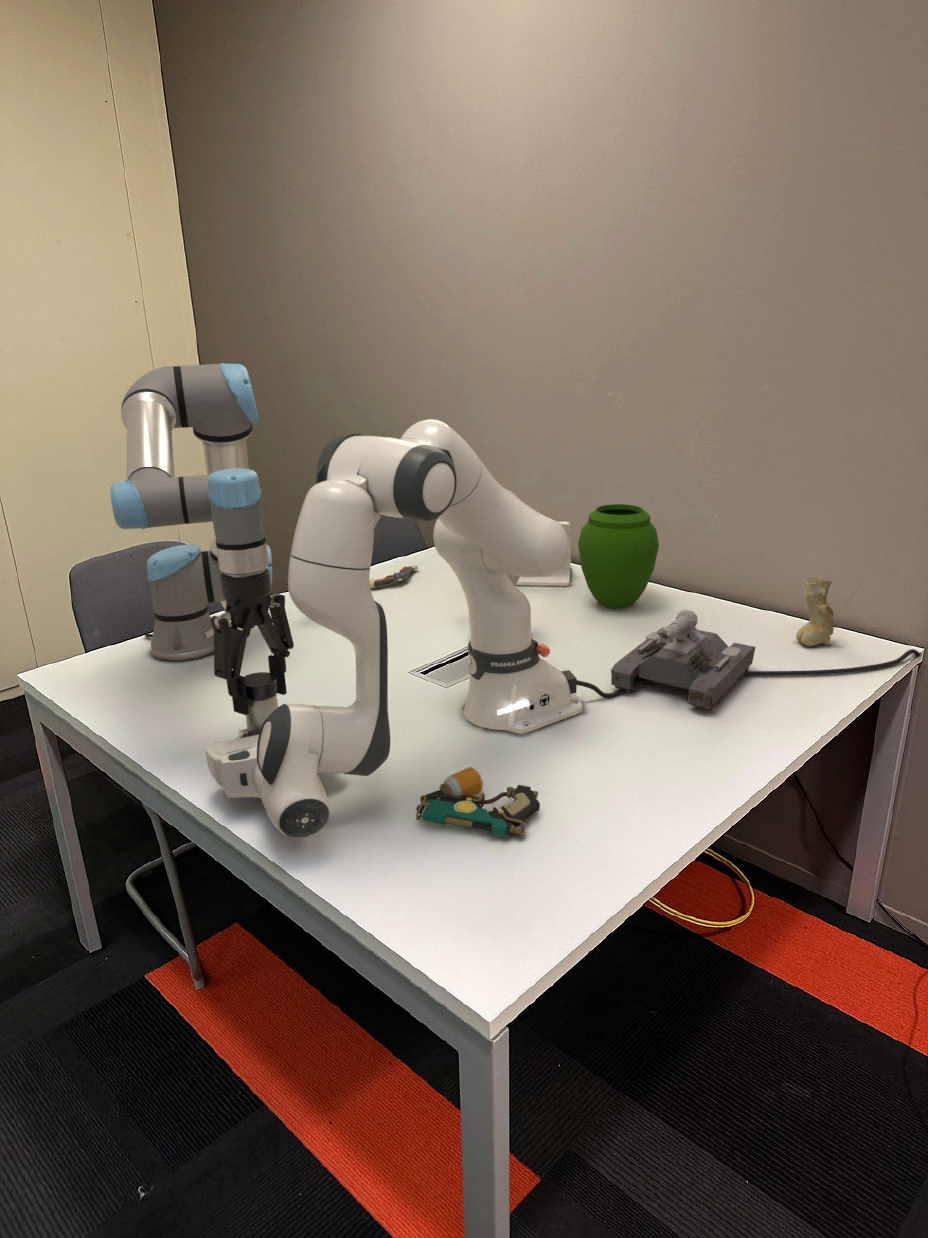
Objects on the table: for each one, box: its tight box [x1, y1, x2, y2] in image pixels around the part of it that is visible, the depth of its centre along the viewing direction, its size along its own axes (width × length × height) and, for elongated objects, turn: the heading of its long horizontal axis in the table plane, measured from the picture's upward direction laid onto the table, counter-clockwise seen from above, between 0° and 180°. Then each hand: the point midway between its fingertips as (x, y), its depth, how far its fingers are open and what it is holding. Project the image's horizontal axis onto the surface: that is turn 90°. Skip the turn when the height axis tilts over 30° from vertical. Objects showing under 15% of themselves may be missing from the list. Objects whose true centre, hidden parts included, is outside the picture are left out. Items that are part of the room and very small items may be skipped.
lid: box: [244, 671, 278, 699], centre depth 140 cm, size 6×6×2 cm
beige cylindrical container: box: [245, 692, 279, 737], centre depth 142 cm, size 5×5×16 cm
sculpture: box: [795, 576, 835, 647], centre depth 185 cm, size 6×7×15 cm
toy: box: [610, 609, 756, 711], centre depth 169 cm, size 25×20×15 cm
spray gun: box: [415, 766, 541, 838], centre depth 128 cm, size 4×17×15 cm
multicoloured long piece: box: [369, 565, 419, 589], centre depth 238 cm, size 3×19×10 cm
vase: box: [577, 503, 660, 610], centre depth 210 cm, size 20×20×24 cm
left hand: (260, 702), depth 141 cm, fingers open, 8 cm apart
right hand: (263, 729), depth 143 cm, fingers closed on beige cylindrical container, 5 cm apart
